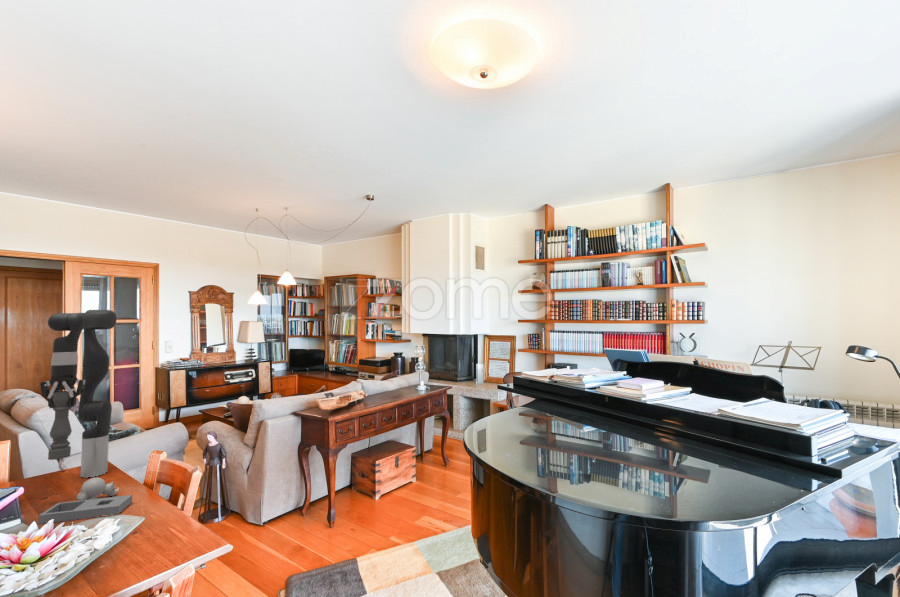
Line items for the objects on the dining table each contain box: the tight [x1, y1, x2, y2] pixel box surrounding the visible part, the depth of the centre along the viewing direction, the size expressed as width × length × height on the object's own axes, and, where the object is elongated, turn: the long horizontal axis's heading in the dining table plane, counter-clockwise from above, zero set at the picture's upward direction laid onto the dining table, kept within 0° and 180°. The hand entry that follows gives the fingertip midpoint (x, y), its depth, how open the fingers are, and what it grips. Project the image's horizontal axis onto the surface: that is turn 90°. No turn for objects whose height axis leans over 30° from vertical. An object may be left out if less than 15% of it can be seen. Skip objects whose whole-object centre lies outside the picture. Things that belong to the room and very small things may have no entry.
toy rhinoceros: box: [75, 477, 120, 501], centre depth 157 cm, size 7×12×8 cm, turn 138°
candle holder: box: [47, 390, 73, 461], centre depth 156 cm, size 6×6×25 cm
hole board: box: [38, 494, 133, 525], centre depth 145 cm, size 10×23×3 cm, turn 106°
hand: (62, 407), depth 157 cm, fingers closed on candle holder, 5 cm apart
